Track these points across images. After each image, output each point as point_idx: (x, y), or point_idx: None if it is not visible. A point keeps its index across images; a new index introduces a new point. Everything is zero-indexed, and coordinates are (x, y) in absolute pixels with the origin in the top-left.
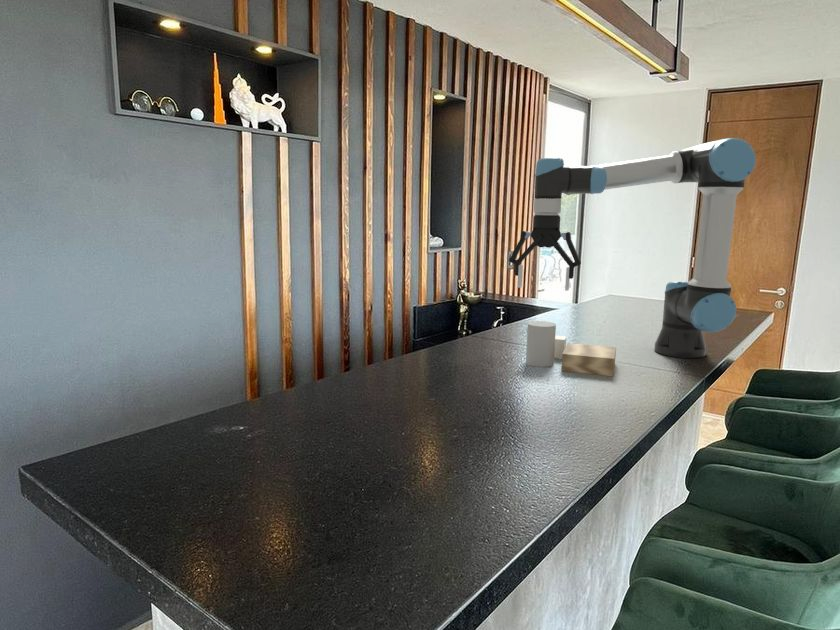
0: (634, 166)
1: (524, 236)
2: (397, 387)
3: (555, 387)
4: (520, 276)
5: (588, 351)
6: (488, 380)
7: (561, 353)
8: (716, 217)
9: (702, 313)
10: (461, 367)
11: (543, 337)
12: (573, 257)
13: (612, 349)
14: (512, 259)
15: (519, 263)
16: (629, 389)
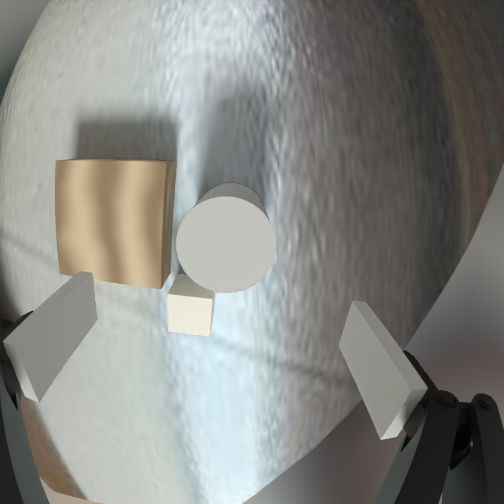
0: None
1: None
2: (455, 23)
3: (191, 37)
4: (378, 338)
5: (105, 211)
6: (335, 52)
7: (181, 279)
8: None
9: None
10: (401, 139)
11: (217, 192)
12: None
13: (63, 250)
14: (482, 411)
15: (420, 416)
16: (60, 84)
